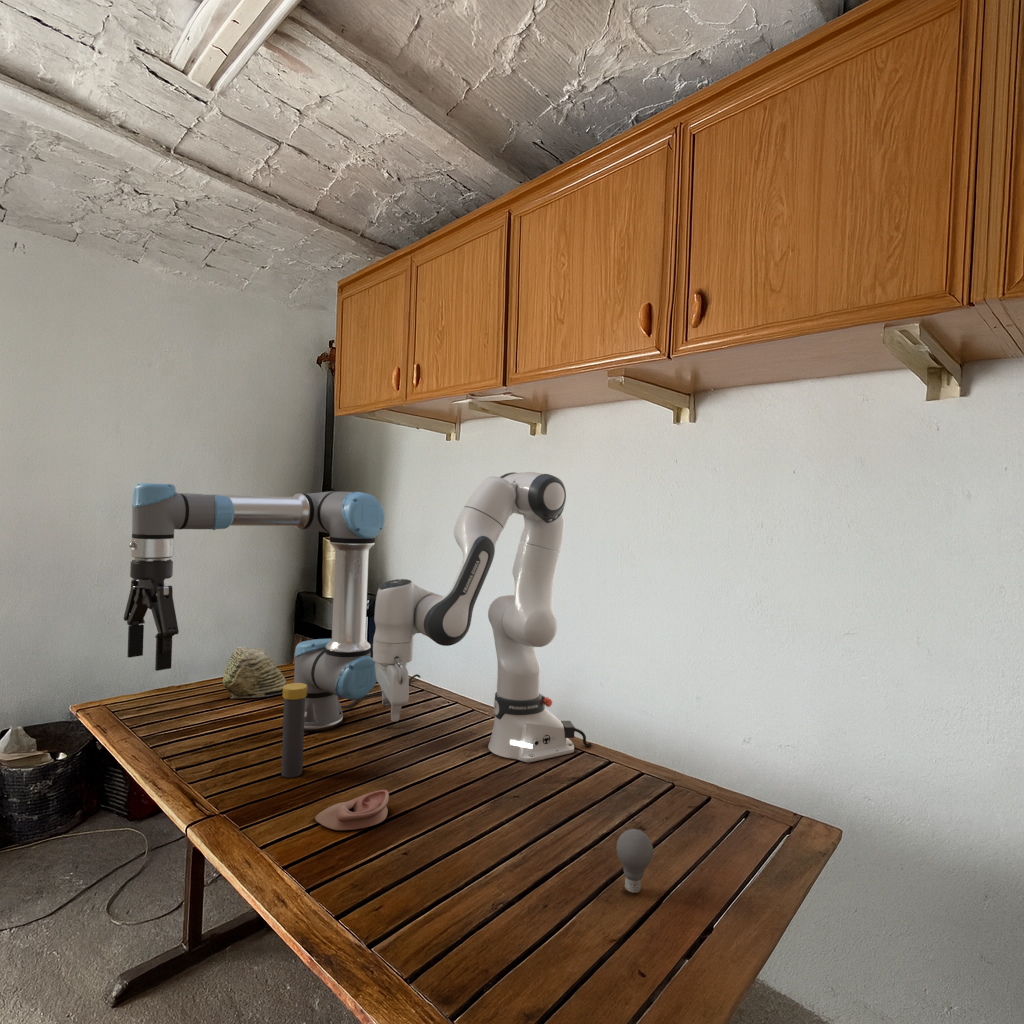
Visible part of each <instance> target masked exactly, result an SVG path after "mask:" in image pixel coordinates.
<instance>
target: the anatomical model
mask: <svg viewBox="0 0 1024 1024" xmlns="http://www.w3.org/2000/svg"><path fill="white" fill-rule="evenodd" d="M389 799H390V793H389V791H388V790H387V789H380V790H375V791H372V792H368V793H366V794H363V795H361V796H358V797H355V798H353V799H351V800H348V801H344V802H338V803H336V804H332V805H330V806H328V807H327V808H325V809H323V810H321V811H320V812H318V814H317V815H315V817H314V819H315V820H314V821H315V822H317V823H318V824H319V825H322V826H323V827H325V828H327V829H331V830H333V831H350V830H351V831H353V830H360V829H365V828H368V827H373V826H375V825H379V824H381V823H382V822H384V821H385V820H386V819H387V816H388V813H389V812H388V811H389V809H388V807H387V805H388V803H389Z"/></svg>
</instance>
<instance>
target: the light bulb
mask: <svg viewBox="0 0 1024 1024" xmlns="http://www.w3.org/2000/svg"><path fill="white" fill-rule="evenodd" d="M615 849H616V854H617V857H618V859H619V861H620V863H621V865H622V867H623V873H624V874H623V875H624V876H625V878H624V888H625V890H627V891H628V892H630V893H634V894H635V893H639V892H640V891H641V889H642V887H641V886H642V879H643V877H644V875H645V871H646V868H647V867H648V866H649V864H650V863H651V861H652V859H653V855H654V847H653V843H652V841H651V838H649V836H648V835H647V834H646V833H645V832H643V831H642V830H641V829H636V828H629V829H627V830H625V831H623V832H622V833H621V834H620V835H619V837H618V839H617V841H616V847H615Z"/></svg>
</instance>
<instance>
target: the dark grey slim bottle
mask: <svg viewBox="0 0 1024 1024" xmlns="http://www.w3.org/2000/svg"><path fill="white" fill-rule="evenodd" d="M304 716H305V698H302V699H297V700H288V699H284V698H283V716H282V717H283V719H282V721H283V722H282V724H283V725H282V744H281V746H282V747H281V772H280V774H281V776H282V777H283V778H289V779H291V778H292V779H293V778H296V777H299V776H301V775H302V774H303V767H304V766H303V765H304V740H305V739H304V738H305V732H304Z"/></svg>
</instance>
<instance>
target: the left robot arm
mask: <svg viewBox="0 0 1024 1024" xmlns="http://www.w3.org/2000/svg"><path fill="white" fill-rule="evenodd" d="M385 515H386V513H385V511H384V508H383V505H382V503H381V502H380V501H379V500H378V498H377V497H375V495H373V494H370V493H367V492H363V491H362V492H361V491H337V490H336V491H335V490H333V491H332V490H330V491H321V492H311V493H295V494H294V495H293V496H276V495H275V496H274V495H273V496H272V495H248V494H247V495H246V494H244V495H243V494H220V493H219V494H218V493H217V494H216V493H215V494H214V493H189V492H187V493H186V492H177V491H176V486H175V485H174V484H173V483H152V482H139V483H137V484H136V485H135V486H134V488H133V492H132V501H131V520H132V521H131V542H130V543H128V547H129V548H130V549H131V550H130V556H131V558H133V559H132V560H131V561H130V567H129V568H130V571H129V574H130V575H129V576H130V578H131V581H130V590H129V594H128V598H127V603H126V607H125V610H124V615H123V621H124V622H126V624H127V626H128V629H127V630H128V631H127V658H135V657H142V656H144V635H145V634H144V630H145V625H144V624H145V623H146V621H145V619H144V618H145V616H146V615H147V612H148V609H149V610H151V613H152V618H153V620H154V624H155V627H156V631H157V633H156V635H155V636H154V638H155V661H154V663H155V665H154V668H155V669H154V670H155V671H157V672H159V671H164V670H169V669H172V659H173V657H172V655H173V637H175V636H176V635H179V632H180V631H179V625H178V619H177V615H176V614H177V613H176V609H175V603H174V597H173V595H174V593H173V585H165V580H167V579H171V578H172V577H173V575H174V573H173V572H174V561H173V560H172V559H171V558H173V557H174V554H175V553H174V552H175V530H213V531H215V530H224V529H228V528H230V526H233V527H234V526H237V527H238V526H240V527H243V526H246V527H247V526H249V527H250V526H258V527H259V526H268V527H269V526H276V527H277V526H282V527H284V526H285V527H286V526H287V527H288V526H289V527H290V526H291V527H293V528H294V529H296V530H308V531H309V530H310V531H316V532H319V533H325V534H329V544H330V545H331V546H332V547H333V548H334V550H335V551H334V572H333V573H334V577H333V599H332V625H331V626H332V627H331V638H317V639H308V640H304V641H300V642H299V643H297V645H296V646H295V650H294V655H293V657H294V672H293V673H294V674H293V683H303V684H306V685H307V696H306V697H305V716H304V733H316V732H325V731H329V730H332V729H335V728H337V727H339V726H340V725H342V723H343V722H344V714H343V709H349V708H350V707H353V705H355V704H356V703H357V702H359V701H360V700H363V699H367V698H371V697H379V696H382V692H377V693H371V694H370V692H371V690H372V689H374V687H375V685H376V683H377V679H376V670H375V661H373V657H371V652H372V649H371V648H372V644H371V643H370V642H368V640H367V639H366V631H367V607H368V606H367V605H368V604H367V602H368V582H369V581H368V579H369V555H370V553H369V552H370V550H371V548H372V547H374V545H375V544H376V536H378V535H379V534H380V533H381V530H383V528H384V526H385V522H386V521H385V520H386V516H385ZM416 677H417V678H418V679H420V678H421V675H420V674H417V673H416V674H414V675H412V676H411V677H409V682H411V681H412V680H413V679H415V678H416ZM339 698H341V699H342V700H343V699H344V700H348V701H349V700H350V701H352V703H350V704H347V705H341V702H340V699H339Z"/></svg>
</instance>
